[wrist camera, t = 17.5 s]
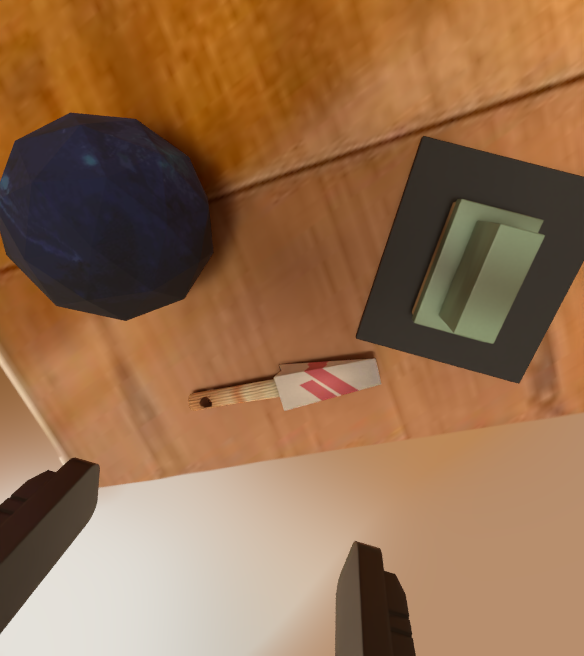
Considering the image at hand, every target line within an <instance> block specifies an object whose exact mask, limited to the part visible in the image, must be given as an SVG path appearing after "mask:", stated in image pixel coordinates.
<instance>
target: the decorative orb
mask: <svg viewBox="0 0 584 656" xmlns="http://www.w3.org/2000/svg"><path fill="white" fill-rule="evenodd" d="M0 233H1V236H2V240H3V244H4V248H5V252H6V255H7V256H8V257H9V258H10V259H11V260H12V261H13V262H14V263H15V264H16V265H17V266H18V267H19V268H20V269H21V270H22V271H23V272H24V273H25V274H26V275H27V276H28V277H29V278H30V279H31V280H32V281H33V283H34V284H35V285H36V286H37V287H38V288H39V289H40V290H41V291H42V292H43V293H44V294H45V295H46V296H47V297H48V298H49V299H50V300H51V301H52V302H53V303H54V304H55V305H56V306H59V307H64V308H68V309H73V310H78V311H82V312H87V313H92V314H96V315H101V316H106V317H110V318H115V319H120V320H124V321H127V320H129V319H132V318H135V317H137V316H140V315H143V314H145V313H148V312H151V311H153V310H156V309H158V308H161V307H164V306H166V305H169V304H172V303H174V302H177V301H180V300H182V299H184V298H185V297H186V295H187V294H188V292H189V290H190V289H191V287H192V286H193V284H194V283H195V281H196V279H197V278H198V276H199V275H200V273H201V271H202V270H203V268H204V267H205V265H206V264H207V262H208V260H209V259H210V257H211V256H212V254H213V243H212V233H211V223H210V213H209V204H208V198H207V196H206V193H205V191H204V189H203V187H202V185H201V182H200V180H199V178H198V176H197V174H196V171H195V169H194V167H193V165H192V163H191V160H190V158H189V157H188V156H187V155H185V154H184V153H183V152H181V151H180V150H178V149H177V148H176V147H174V146H173V145H171V144H170V143H169V142H167V141H166V140H164V139H163V138H162V137H160V136H159V135H157V134H156V133H155V132H153V131H152V130H150V129H149V128H148V127H146V126H145V125H143V124H142V123H141V122H139V121H138V120H136V119H130V118H120V117H109V116H99V115H89V114H78V113H69V114H67V115H65V116H63V117H61V118H59V119H57V120H55V121H53V122H51V123H49V124H47V125H45V126H43V127H41V128H39V129H38V130H36V131H34V132H32V133H30V134H28V135H26V136H24V137H22V138H20V139H18V140H16V141H15V142H14V145H13V148H12V151H11V153H10V156H9V159H8V162H7V164H6V167H5V170H4V173H3V175H2V178H1V181H0Z"/></svg>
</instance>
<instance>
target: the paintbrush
mask: <svg viewBox="0 0 584 656" xmlns="http://www.w3.org/2000/svg"><path fill="white" fill-rule="evenodd" d="M279 367H280V370H281V371H280V372H279V373H278V374H277V375H276V376H274V379H272V380H266V381H260V382H255V383H249V384H244V385H238V386H232V387H227V388H221V389H216V390H210V391H204V392H197V393H192V394H190V396H189V399H188V401H189V402H188V404H189V407H190V409H191V410H194V411H196V410H201V409H207V408H213V407H219V406H225V405H231V404H237V403H243V402H250V401H256V400H263V399H269V398H275V397H280V399H281V402H282V405H283V408H284V411H286V410H290V409H293V408H297V407H300V406H304V405H308V404H311V403H315V402H319V401H322V400H326V399H330V398H333V397H337V396H340V395H344V394H348V393H351V392H355V391H359V390H362V389H366V388H369V387H373V386H377V385H380V384H381V381H380V376H379V372H378V367H377V363H376V359H375V358H373V359H357V360H342V361H327V362H311V363H296V364H280V365H279ZM207 397H208V398H209V399H211V402H209V400H208V399H207Z"/></svg>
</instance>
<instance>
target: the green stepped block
mask: <svg viewBox="0 0 584 656" xmlns="http://www.w3.org/2000/svg"><path fill="white" fill-rule="evenodd" d="M543 221H544V220H542V219H538V218H534V217H530V216H527V215H523V214H519V213H515V212H511V211H507V210H503V209H500V208H496V207H492V206H488V205H484V204H480V203H476V202H473V201H469V200H465V199H457V201H456V202H453V204H452V207H451V209H450V212H449V215H448V217H447V220H446V223H445V225H444V228H443V231H442V233H441V236H440V238H439V241H438V244H437V246H436V249H435V252H434V254H433V257H432V260H431V262H430V265H429V267H428V270H427V273H426V275H425V278H424V281H423V283H422V286H421V289H420V291H419V294H418V297H417V299H416V302H415V304H414V307H413V310H412V314H413V316H412V320H413V322H414V323H416V324H419V325H423V326H427V327H430V328H434V329H438V330H441V331H445V332H449V333H452V334H456V335H460V336H463V337H467V338H471V339H474V340H478V341H482V342H488V343H491V344H493V343H494V342H495V340H496V337H497V335H498V333H499V331H500V329H501V327H502V325H503V323H504V321H505V319H506V316H507V314H508V312H509V310H510V308H511V306H512V304H513V302H514V300H515V298H516V296H517V293H518V291H519V289H520V287H521V285H522V283H523V281H524V279H525V277H526V275H527V272H528V270H529V268H530V266H531V264H532V262H533V260H534V258H535V256H536V254H537V251H538V249H539V247H540V245H541V243H542V241H543V239H544V237H545V235H543V234H539V233H538V232H539V230H540V228H541V225H542V223H543Z"/></svg>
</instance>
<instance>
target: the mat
mask: <svg viewBox="0 0 584 656" xmlns="http://www.w3.org/2000/svg"><path fill="white" fill-rule="evenodd" d="M457 199H465V200H469V201H473V202H476V203H480V204H484V205H488V206H492V207H496V208H500V209H503V210H507V211H511V212H515V213H519V214H523V215H527V216H530V217H534V218H538V219H542V220H544V221H543V223H542V225H541V228H540V230H539V232H538V233H539V234H543V235H545V237H544V239H543V241H542V243H541V245H540V247H539V249H538V251H537V254H536V256H535V258H534V260H533V262H532V264H531V266H530V268H529V270H528V272H527V275H526V277H525V279H524V281H523V283H522V285H521V287H520V289H519V291H518V293H517V296H516V298H515V300H514V302H513V304H512V306H511V308H510V310H509V312H508V314H507V316H506V319H505V321H504V323H503V325H502V327H501V329H500V331H499V333H498V335H497V337H496V340H495V342H494V343H493V344H491V343H488V342H482V341H478V340H474V339H471V338H467V337H463V336H460V335H456V334H452V333H449V332H445V331H441V330H438V329H434V328H430V327H427V326H423V325H419V324H416V323H414V322H413V320H412V316H413V314H412V310H413V307H414V304H415V302H416V299H417V297H418V294H419V291H420V289H421V286H422V283H423V281H424V278H425V275H426V273H427V270H428V267H429V265H430V262H431V260H432V257H433V254H434V252H435V249H436V246H437V244H438V241H439V238H440V236H441V233H442V231H443V228H444V225H445V223H446V220H447V217H448V215H449V212H450V209H451V207H452V204H453V202H456V201H457ZM583 261H584V177H582V176H578V175H574V174H570V173H566V172H563V171H559V170H555V169H551V168H547V167H543V166H539V165H535V164H531V163H527V162H523V161H519V160H516V159H512V158H508V157H504V156H500V155H496V154H492V153H488V152H484V151H480V150H476V149H473V148H469V147H465V146H461V145H457V144H453V143H449V142H445V141H441V140H437V139H433V138H429V137H426V136H423V137H422V139H421V142H420V145H419V148H418V151H417V154H416V157H415V160H414V163H413V166H412V169H411V172H410V175H409V178H408V181H407V184H406V187H405V190H404V193H403V196H402V199H401V202H400V205H399V208H398V211H397V214H396V217H395V220H394V223H393V226H392V229H391V232H390V235H389V238H388V241H387V244H386V247H385V250H384V253H383V256H382V259H381V262H380V265H379V268H378V271H377V274H376V277H375V280H374V283H373V286H372V289H371V292H370V295H369V298H368V301H367V304H366V307H365V310H364V313H363V316H362V319H361V322H360V325H359V328H358V331H357V334H356V339H360V340H364V341H367V342H371V343H374V344H378V345H382V346H385V347H389V348H392V349H396V350H400V351H403V352H407V353H410V354H414V355H418V356H421V357H425V358H428V359H432V360H436V361H439V362H443V363H446V364H450V365H454V366H457V367H461V368H464V369H468V370H472V371H475V372H479V373H483V374H486V375H490V376H493V377H497V378H501V379H504V380H508V381H511V382H515V383H520V381H521V379H522V377H523V375H524V373H525V371H526V370H527V368H528V366H529V364H530V362H531V360H532V358H533V356H534V354H535V352H536V351H537V349H538V347H539V345H540V343H541V341H542V339H543V337H544V335H545V333H546V332H547V330H548V328H549V326H550V324H551V322H552V320H553V318H554V316H555V315H556V313H557V311H558V309H559V307H560V305H561V303H562V301H563V299H564V297H565V296H566V294H567V292H568V290H569V288H570V286H571V284H572V282H573V280H574V278H575V277H576V275H577V273H578V271H579V269H580V267H581V265H582V263H583Z"/></svg>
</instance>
